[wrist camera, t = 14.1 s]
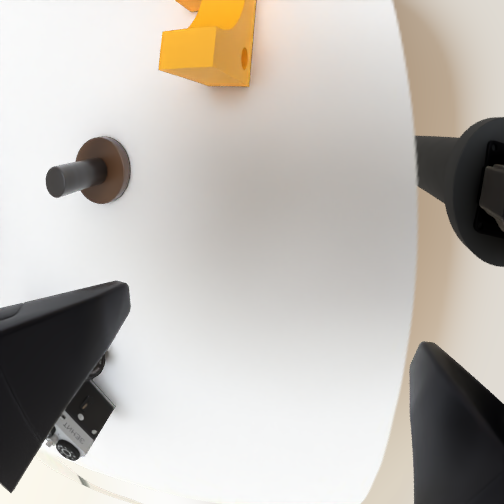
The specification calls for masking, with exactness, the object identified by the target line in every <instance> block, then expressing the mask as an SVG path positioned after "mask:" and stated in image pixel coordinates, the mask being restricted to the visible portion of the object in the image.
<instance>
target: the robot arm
mask: <svg viewBox="0 0 504 504" xmlns="http://www.w3.org/2000/svg"><path fill="white" fill-rule="evenodd" d="M493 144H494V145H495V150H494V151H493V149H492V146H493ZM476 202H477V210H476V214H475V219H474V223H473V227H474V230H475V231H476V232H478V233H480V234H485V235H489V236H494V237H498V238H503V239H504V143H501V142H498V141H494V140H490V141H489V142H488V143H487V148H486V156H485V164H484V166H483V167H482V172H481V178H480V184H479V190H478V195H477V201H476ZM480 223H482V226H481V228H478V225H479V224H480ZM130 307H131V305H130V295H129V287H128V285H127V284H126V283H124V282H120V281H112V282H108V283H104V284H100V285H95V286H91V287H87V288H83V289H79V290H75V291H70V292H66V293H62V294H58V295H54V296H50V297H46V298H41V299H37V300H33V301H29V302H25V303H24V304H23V303H20V304H16V305H12V306H8V307H3V308H0V484H1V485H2V486H3V487H4V488H5V489H7V490H8V491H9V492H10V493H12V491H13V490H14V489H15V487H16V486H17V484H18V482H19V481H20V479H21V477H22V476H23V474H24V472H25V471H26V469H27V467H28V466H29V464H30V463H31V461H32V459H33V457H34V456H35V455H36V453H37V452H38V450H39V448H40V447H41V445H42V444H41V443H43V442H44V440H45V439H46V437H47V436H48V434H49V433H50V431H51V430H52V428H53V427H54V425H55V424H56V422H57V421H58V419H59V418H60V416H61V415H62V413H63V412H64V410H65V409H66V407H67V406H68V404H69V403H70V402H71V400H72V399H73V397H74V396H75V394H76V393H77V391H78V390H79V389H80V387H81V386H82V384H83V383H84V381H85V380H86V379H87V377H88V376H89V374H90V373H91V372H92V370H93V369H94V367H95V366H96V365H97V363H98V362H99V360H100V359H101V358H102V356H103V355H104V354H105V352H106V351H107V349H108V348H109V346H110V345H111V343H112V341H113V340H114V338H115V336H116V334H117V333H118V331H119V329H120V328H121V326H122V324H123V322H124V321H125V319H126V317H127V316H128V314H129V312H130ZM410 422H411V434H412V448H413V467H414V504H504V404H503V403H502V402H501V401H499V400H498V399H497V398H496V397H495V396H494V395H493V394H492V393H491V392H490V391H489V390H488V389H486V388H485V387H484V386H483V385H482V384H481V383H480V382H479V381H478V380H476V379H475V378H474V377H473V376H472V375H471V374H470V373H469V372H467V371H466V370H465V369H464V368H463V367H462V366H461V365H459V364H458V363H457V362H456V361H455V360H454V359H453V358H451V357H450V356H449V355H448V354H447V353H446V352H444V351H443V350H442V349H441V348H440V347H439V346H437V345H436V344H435V343H432V342H421V343H420V345H419V347H418V349H417V351H416V354H415V356H414V358H413V360H412V362H411V365H410Z"/></svg>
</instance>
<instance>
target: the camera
mask: <svg viewBox="0 0 504 504" xmlns="http://www.w3.org/2000/svg"><path fill="white" fill-rule="evenodd" d="M104 364H105V355H103V356H102V358H101V359H100V360H99V362H98V363H97V365H96V366H95V367H94V369H93V370H92V372H91V373H90V374H89V376H88V377H87V379H86V380H85V381H84V383H83V384H82V386H81V387H80V389H79V390H78V391H77V393H76V394H75V396H74V397H73V399H72V400H71V402H70V403H69V404H68V406H67V407H66V409H65V410H64V412H63V413H62V415H61V416H60V418H59V419H58V421H57V422H56V424H55V425H54V427H53V428H52V430H51V431H50V433H49V434H48V436H47V437H46V440H47V441H48V442H47V443H46V445H47V446H48V447H50V446H51V445H53V446H54V445H55V444H56V448H57V450H58V451H59V453H60V454H61V455H63V456H64V457H65V458H67V459H70V460H73V461H75V460H77V459H79V457H83V456H85V455H86V454H87V452H88V451H89V449H90V447H91V446H92V444H93V442H94V441H95V439H96V438H97V436H98V434H99V433H100V431H101V429H102V428H103V426H104V424H105V423H106V421H107V419H108V418H109V416H110V414H111V413H112V411H113V410H114V408H115V406H114V404H113V403H112V402H111V401H110V400H109V399H108V398H107V397H106V396H105V395H104V394H103V392H102V391H101V390H100V389H99V388H98V387H97V386H96V384H95V383H94V382H93V381H92V379H93V378H94V377H96V376H98V375H99V374H100V373H101V372H102V370H103V367H104Z"/></svg>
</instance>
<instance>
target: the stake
mask: <svg viewBox="0 0 504 504" xmlns="http://www.w3.org/2000/svg"><path fill="white" fill-rule="evenodd" d="M129 177H130V164H129V159H128V156H127V154H126V152H125V150H124V148H123V147H122V146H121V144H120V143H118V142H117V141H116V140H114V139H112V138H109V137H97V138H93V139H90V140H89V141H87V142H86V143H85V144H84V145H83V146H82V147H81V149H80V150H79V152H78V155H77V157H76V162H73V163H68V164H63V165H59V166H55V167H52V168H51V169H50V170H49V171H48V173H47V175H46V186H47V189H48V191H49V193H50V194H51V195H52V196H53V197H56V198H59V197H62V196H65V195H68V194H71V193H74V192H77V191H80V190H81V192H82V193H83V195H84V196H85V197H86V198H87V199H89V200H90V201H92V202H94V203H98V204H105V203H108V202H111V201H114V200H116V199H117V198H119V197H120V196H121V195H122V194H123V192H124V191H125V189H126V187H127V185H128V182H129Z"/></svg>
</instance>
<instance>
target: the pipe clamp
mask: <svg viewBox="0 0 504 504" xmlns="http://www.w3.org/2000/svg"><path fill="white" fill-rule="evenodd" d="M175 1H177V2H178V3H180V4H181V5H182V6H184V7H185V8H186V9H188V10H189V11H190V12H195V11H198V13H197V16H196V18H195V19H194V21H193V23H192V24H191V25H190V26H189V27H188V28H187V29H180V30H172V31H164V32H163V33H162V41H161V50H160V60H159V70H160V71H164V72H167V73H170V74H173V75H177V76H180V77H183V78H186V79H189V80H192V81H195V82H198V83H201V84H204V85H207V86H242V87H249V82H250V69H251V57H252V45H253V33H254V21H255V10H256V0H175Z"/></svg>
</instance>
